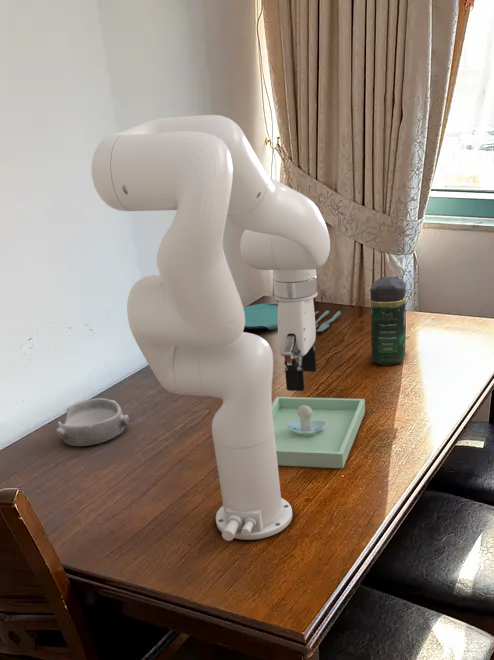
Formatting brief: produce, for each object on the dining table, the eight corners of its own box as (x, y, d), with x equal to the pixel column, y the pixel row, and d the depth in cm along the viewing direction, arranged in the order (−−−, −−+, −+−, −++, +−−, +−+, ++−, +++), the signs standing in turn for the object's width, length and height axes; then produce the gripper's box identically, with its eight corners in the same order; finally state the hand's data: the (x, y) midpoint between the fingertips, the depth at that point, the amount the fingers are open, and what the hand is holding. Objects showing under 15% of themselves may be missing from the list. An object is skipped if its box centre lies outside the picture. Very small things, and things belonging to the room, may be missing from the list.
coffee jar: (404, 366, 177) (403, 285, 167) (369, 366, 178) (367, 286, 169) (407, 351, 185) (407, 273, 175) (374, 351, 186) (372, 274, 177)
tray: (343, 468, 139) (342, 454, 138) (244, 463, 144) (242, 449, 142) (365, 412, 158) (364, 398, 157) (277, 409, 163) (276, 396, 161)
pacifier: (293, 425, 155) (286, 437, 150) (291, 395, 151) (283, 407, 146) (329, 426, 153) (323, 439, 148) (327, 396, 150) (321, 408, 145)
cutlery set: (249, 308, 224) (248, 300, 223) (346, 314, 212) (345, 306, 210) (215, 331, 209) (214, 323, 208) (316, 339, 197) (316, 330, 195)
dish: (61, 454, 154) (55, 431, 151) (59, 426, 165) (53, 404, 163) (133, 440, 156) (128, 417, 154) (127, 413, 168) (122, 392, 165)
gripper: (287, 275, 143) (294, 363, 152) (261, 301, 129) (270, 397, 138) (326, 275, 142) (331, 364, 150) (304, 301, 127) (311, 398, 136)
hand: (302, 380), depth 144 cm, fingers open, 9 cm apart
